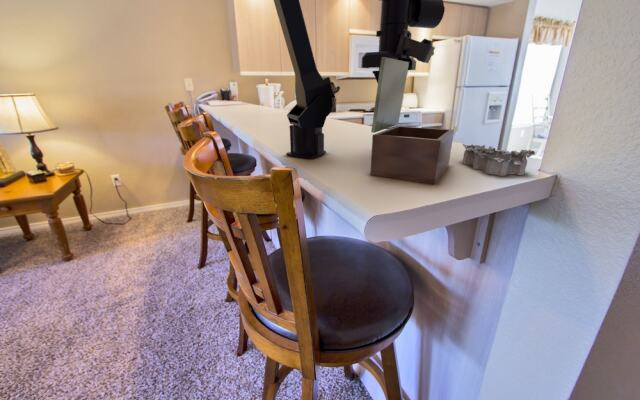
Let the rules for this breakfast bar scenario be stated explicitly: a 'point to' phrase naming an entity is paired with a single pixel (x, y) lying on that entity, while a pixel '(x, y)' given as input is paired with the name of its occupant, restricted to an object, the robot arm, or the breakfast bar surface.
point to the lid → (389, 93)
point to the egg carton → (496, 160)
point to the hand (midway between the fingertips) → (388, 104)
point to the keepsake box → (411, 153)
